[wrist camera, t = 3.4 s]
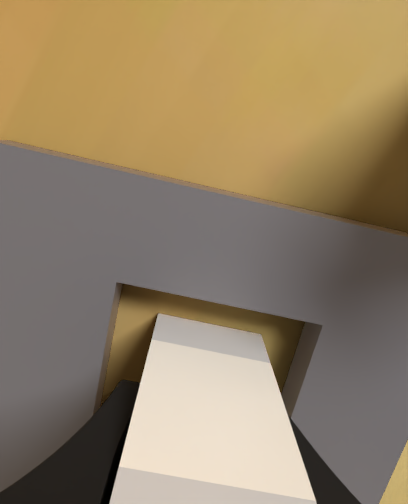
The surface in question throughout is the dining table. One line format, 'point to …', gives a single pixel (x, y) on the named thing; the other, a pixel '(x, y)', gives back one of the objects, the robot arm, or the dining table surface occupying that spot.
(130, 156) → the dining table surface
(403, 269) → the block
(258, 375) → the block
